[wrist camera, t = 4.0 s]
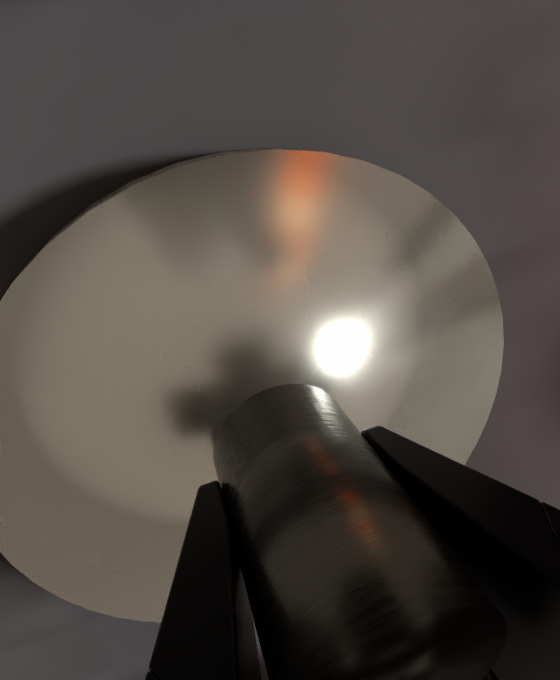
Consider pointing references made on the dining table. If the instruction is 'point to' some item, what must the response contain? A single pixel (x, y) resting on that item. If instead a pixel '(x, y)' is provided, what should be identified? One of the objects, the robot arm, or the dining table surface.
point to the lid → (255, 405)
